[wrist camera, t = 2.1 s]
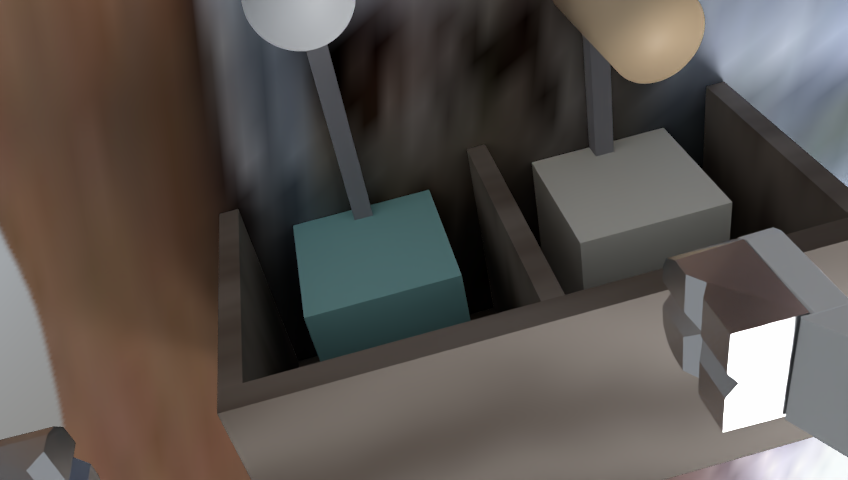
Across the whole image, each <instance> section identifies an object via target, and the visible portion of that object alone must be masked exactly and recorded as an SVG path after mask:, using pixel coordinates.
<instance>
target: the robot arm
mask: <svg viewBox="0 0 848 480" xmlns="http://www.w3.org/2000/svg"><path fill="white" fill-rule="evenodd" d="M663 282H664V284H665V285H666V287H667V288H668V290H669V291H670V293H671V294H670V295H669V297H668V298H667V300H666V301H665V302H664V304H663V305H662V311H663V326H664V330H665V334H666V338H667V342H668V344H669V346H670V349H671V351H672V353H673V355H674V357H675V359H676V360H677V362H678V364H679V365H680V367H681V369H682V370H683V371H685V372H687V373H689V374H691V375H693V376H695V377H698V378H699V387H698V395H699V397H700V398H701V400H702V401H703V403H704V404H705V406H706V407H707V409H708V411H709V412H710V414H711V415H712V417H713V418H714V420H715V421H716V423H717V424H718V426H719V427H720V429H721V430H722V432H726V431H730V430H734V429H737V428H741V427H745V426H749V425H753V424H757V423H761V422H764V421H768V420H772V419H776V418H780V417H784V416H785V420H787V421H788V422H790V423H792V424H793V425H795V426H797V427H798V428H800V429H802V430H803V431H805V432H807V433H808V434H810V435H812V436H813V437H815V438H817V439H818V440H820V441H822V442H823V443H825V444H827V445H828V446H830V447H832V448H833V449H835V450H837V451H838V452H840V453H842V454H843V455H845V456H847V457H848V297H847V296H846V295H845V294H844V293H843V292H842V291H841V290H840V289H839V288H838V287H837V286H836V285H835V284H834V283H833V282H832V281H831V280H830V279H829V278H828V277H827V276H826V275H825V274H824V273H823V272H822V271H821V270H820V269H819V268H818V267H817V266H816V265H815V264H814V263H813V262H812V261H811V260H810V259H809V258H808V257H807V256H806V255H805V254H804V253H803V252H802V251H801V250H800V249H799V248H798V247H797V246H796V245H795V244H794V243H793V242H792V241H791V240H790V239H789V238H788V237H787V236H786V235H785V234H784V233H783V232H782V231H781V230H779V229H776V228H774V227H773V228H769V229H766V230H762V231H759V232H755V233H752V234H748V235H745V236H742V237H738V238H737V239H732V240H729V241H725V242H721V243H718V244H714V245H711V246H707V247H704V248H700V249H697V250H693V251H690V252H686V253H683V254H679V255H676V256H672V257H669V258H666V260H665V263H664V265H663ZM75 444H76V443H75V441H74V440H73V439H72V438H71V436H70V435H69V434H68V432H67V431H66V430H65V429H64V427H50V428H46V429H42V430H38V431H34V432H30V433H26V434H22V435H18V436H14V437H10V438H6V439H2V440H0V480H100V478H99V475H98V474H97V473H96V471H95V470H94V468H93V467H92V465H91V464H89V463H87V462H84V461H82V460H79V459H76V458H74V457H73V455H74V449H75Z"/></svg>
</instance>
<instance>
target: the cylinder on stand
mask: <svg viewBox="0 0 848 480" xmlns="http://www.w3.org/2000/svg"><path fill="white" fill-rule="evenodd" d="M553 2H554V4H555V5H556V7H557V8H558V9H559V10H560V11H561V12H562V13H563V14H564V15H565V16H566V17H567V18H568V19H569V21H570V22H571V23H572V24H573V25H574V26H575V27H576V28H577V29H578V30H579V31H580V32H581V33H582V34H583V51H584V68H585V85H586V102H587V120H588V137H589V147H588V148H585V149H581V150H577V151H573V152H569V153H566V154H562V155H558V156H554V157H550V158H547V159H543V160H539V161H535V162H532V170H533V179H534V188H535V197H536V206H537V215H538V224H539V233H540V242H541V250H542V252H543V254H544V256H545V258H546V260H547V262H548V264H549V265H550V267H551V269H552V271H553V273H554V275H555V277H556V279H557V281H558V282H559V284H560V286H561V288H562V290H563V292H564V294H565V295H566V294H570V293H574V292H577V291H581V290H585V289H588V288H592V287H596V286H599V285H603V284H607V283H610V282H614V281H617V280H621V279H625V278H628V277H632V276H636V275H639V274H643V273H647V272H650V271H654V270H658V269H661V268H663V265H664V263H665V260H666V258H669V257H672V256H676V255H679V254H683V253H686V252H690V251H693V250H697V249H700V248H704V247H707V246H711V245H714V244H718V243H721V242H725V241H729V240H730V228H731V214H732V201H731V200H730V199H729V198H728V197H727V196H726V195H725V194H724V193H723V191H722V190H721V189H720V188H719V187H718V186H717V185H716V184H715V183H714V182H713V181H712V180H711V178H710V177H709V176H708V175H707V174H706V173H705V172H704V171H703V170H702V169H701V168H700V167H699V166H698V164H697V163H696V162H695V161H694V160H693V159H692V158H691V157H690V156H689V155H688V154H687V153H686V151H685V150H684V149H683V148H682V147H681V146H680V145H679V144H678V143H677V142H676V141H675V140H674V138H673V137H672V136H671V135H670V134H669V133H668V132H667V131H666V130H665V129H664V128H660V129H657V130H653V131H649V132H645V133H641V134H638V135H634V136H630V137H626V138H622V139H619V140H615V141H613V117H612V90H611V65H612V66H613V68H614V69H615V70H616V71H617V72H618V73H619V74H620V75H621V76H623V77H624V78H625V79H627V80H629V81H632V82H635V83H642V84H648V83H655V82H659V81H662V80H665V79H667V78H669V77H671V76H673V75H674V74H676V73H677V72H679V71H680V70H681V69H682V68H683V67H685V66H686V65H687V63H688V62H689V61H690V60H691V59H692V57H693V56H694V55H695V53H696V52H697V50H698V48H699V46H700V44H701V41H702V38H703V34H704V29H705V17H704V12H703V9H702V7H701V5H700V3H699V1H698V0H553Z"/></svg>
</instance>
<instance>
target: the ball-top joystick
mask: <svg viewBox="0 0 848 480" xmlns="http://www.w3.org/2000/svg"><path fill="white" fill-rule="evenodd" d="M355 1H356V0H241V2H242V7H243V11H244V13H245V16H246V18H247V20H248V22H249V24H250V25H251V26H252V28H253V29H254V30H255V32H256V33H257V34H258V35H259V36H261V37H262V38H263V39H264V40H266V41H267V42H269V43H270V44H272V45H274V46H277V47H279V48H282V49H285V50H291V51H306V53H307V57H308V60H309V64H310V67H311V71H312V74H313V77H314V81H315V84H316V88H317V91H318V95H319V98H320V102H321V105H322V109H323V112H324V116H325V119H326V123H327V126H328V130H329V133H330V136H331V140H332V143H333V147H334V150H335V154H336V157H337V161H338V164H339V168H340V171H341V175H342V178H343V182H344V185H345V189H346V192H347V196H348V199H349V202H350V206H351V209H352V210H350V211H346V212H342V213H338V214H335V215H331V216H327V217H323V218H320V219H316V220H312V221H308V222H304V223H301V224H297V225H293V230H294V238H295V246H296V255H297V263H298V272H299V280H300V288H301V297H302V305H303V313H304V319H305V322H306V325H307V327H308V330H309V333H310V335H311V338H312V341H313V343H314V346H315V349H316V351H317V354H318V357H319V360H320V362H321V361H325V360H329V359H332V358H336V357H340V356H343V355H347V354H351V353H354V352H358V351H362V350H365V349H369V348H373V347H376V346H380V345H384V344H387V343H391V342H394V341H398V340H402V339H405V338H409V337H413V336H416V335H420V334H424V333H427V332H431V331H435V330H438V329H442V328H446V327H449V326H453V325H457V324H460V323H464V322H468V321H471V320H470V315H469V310H468V305H467V300H466V295H465V290H464V284H463V279H462V275H461V272H460V269H459V267H458V264H457V262H456V259H455V256H454V254H453V251H452V249H451V246H450V243H449V241H448V238H447V235H446V233H445V230H444V228H443V225H442V222H441V220H440V217H439V214H438V212H437V209H436V207H435V204H434V201H433V199H432V196H431V193H430V191H429V190H426V191H422V192H418V193H414V194H410V195H407V196H403V197H399V198H395V199H391V200H388V201H384V202H380V203H376V204H373V205H370V202H369V198H368V194H367V191H366V187H365V183H364V179H363V176H362V172H361V168H360V165H359V161H358V157H357V153H356V150H355V146H354V142H353V139H352V135H351V131H350V127H349V124H348V120H347V116H346V113H345V109H344V105H343V101H342V98H341V94H340V90H339V86H338V83H337V79H336V75H335V72H334V68H333V64H332V60H331V57H330V53H329V49H328V46H327V44H328V43H330V42H332V41H333V40H334V39H336V38H337V37H338V36H339V35H340V34H341V33H342V32H343V31H344V29H345V28H346V27H347V25H348V23H349V22H350V20H351V17H352V15H353V12H354V8H355Z"/></svg>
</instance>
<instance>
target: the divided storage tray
mask: <svg viewBox="0 0 848 480" xmlns="http://www.w3.org/2000/svg"><path fill="white" fill-rule="evenodd" d="M467 154H468V160H469V166H470V172H471V177H472V183H473V189H474V195H475V201H476V207H477V213H478V219H479V225H480V231H481V237H482V243H483V248H484V254H485V260H486V266H487V272H488V278H489V284H490V290H491V296H492V302H493V308H491V309H488V310H484V311H480V312H477V313H473V314H469V315H470V320H471V321H468V322H464V323H460V324H457V325H453V326H449V327H446V328H442V329H438V330H435V331H431V332H427V333H424V334H420V335H416V336H413V337H409V338H405V339H402V340H398V341H394V342H391V343H387V344H384V345H380V346H376V347H373V348H369V349H365V350H362V351H358V352H354V353H351V354H347V355H343V356H340V357H336V358H332V359H329V360H325V361H321V362H320V360H319V357H318V356H315V357H312V358H308V359H304V360H301V361H298V359H297V356H296V354H295V351H294V349H293V346H292V344H291V341H290V339H289V336H288V334H287V331H286V328H285V326H284V323H283V321H282V318H281V316H280V313H279V311H278V308H277V306H276V303H275V301H274V298H273V296H272V293H271V291H270V288H269V285H268V283H267V280H266V278H265V275H264V273H263V270H262V268H261V265H260V263H259V260H258V258H257V255H256V253H255V250H254V247H253V245H252V242H251V240H250V237H249V235H248V232H247V230H246V227H245V225H244V222H243V220H242V217H241V215H240V212H239V210H238V209H236V210H232V211H229V212H225V213H221V214H219V294H218V394H217V414H218V416H219V418H220V420H221V422H222V424H223V426H224V428H225V430H226V432H227V434H228V436H229V437H230V439H231V441H232V443H233V445H234V447H235V449H236V451H237V453H238V455H239V457H240V459H241V461H242V463H243V465H244V467H245V469H246V470H247V472H248V474H249V476H250V478H251V480H665V479H669V478H672V477H676V476H679V475H683V474H686V473H690V472H693V471H697V470H700V469H703V468H707V467H710V466H714V465H717V464H721V463H724V462H728V461H731V460H735V459H738V458H742V457H745V456H749V455H752V454H756V453H759V452H763V451H766V450H769V449H773V448H776V447H780V446H783V445H787V444H790V443H794V442H797V441H801V440H804V439H808V438H811V437H813V436H812V435H810V434H808V433H807V432H805V431H803V430H802V429H800V428H798V427H797V426H795V425H793V424H792V423H790V422H788V421H787V420H785V416H784V417H780V418H776V419H772V420H768V421H764V422H761V423H757V424H753V425H749V426H745V427H741V428H737V429H734V430H730V431H726V432H722V430H721V429H720V427H719V426H718V424H717V423H716V421H715V420H714V418H713V417H712V415H711V414H710V412H709V411H708V409H707V407H706V406H705V404H704V403H703V401H702V400H701V398H700V397H699V395H698V387H699V378H698V377H695V376H693V375H691V374H689V373H687V372H685V371H683V370H682V369H681V367H680V365H679V364H678V362H677V360H676V359H675V357H674V355H673V353H672V351H671V349H670V346H669V344H668V342H667V338H666V334H665V330H664V326H663V311H662V305H663V304H664V302H665V301H666V300H667V298H668V297H669V295H670V294H671V293H670V291H669V290H668V288H667V287H666V285H665V284H664V282H663V268H661V269H658V270H654V271H650V272H647V273H643V274H639V275H636V276H632V277H628V278H625V279H621V280H617V281H614V282H610V283H607V284H603V285H599V286H596V287H592V288H588V289H585V290H581V291H577V292H574V293H570V294H566V295H565V294H564V292H563V290H562V288H561V286H560V284H559V282H558V281H557V279H556V277H555V275H554V273H553V271H552V269H551V267H550V265H549V264H548V262H547V260H546V258H545V256H544V254H543V252H542V250H541V249H540V247H539V245H538V243H537V241H536V239H535V237H534V235H533V234H532V232H531V230H530V228H529V226H528V224H527V222H526V220H525V218H524V217H523V215H522V213H521V211H520V209H519V207H518V205H517V203H516V202H515V200H514V198H513V196H512V194H511V192H510V190H509V188H508V186H507V185H506V183H505V181H504V179H503V177H502V175H501V173H500V171H499V170H498V168H497V166H496V164H495V162H494V160H493V158H492V156H491V154H490V153H489V151H488V149H487V147H486V145H485V144H484V145H480V146H476V147H473V148H469V149H467ZM703 171H704V172H705V173H706V174H707V175H708V176H709V177H710V178H711V180H712V181H713V182H714V183H715V184H716V185H717V186H718V187H719V188H720V189H721V190H722V191H723V193H724V194H725V195H726V196H727V197H728V198H729V199H730V200H731V201H732V214H731V228H730V240H732V239H737V238H738V237H742V236H745V235H748V234H752V233H755V232H759V231H762V230H766V229H769V228H773V227H774V228H776V229H779V230H781V231H782V232H783V233H784V234H785V235H786V236H787V237H788V238H789V239H790V240H791V241H792V242H793V243H794V244H795V245H796V246H797V247H798V248H799V249H800V250H801V251H802V252H803V253H804V254H805V255H806V256H807V257H808V258H809V259H810V260H811V261H812V262H813V263H814V264H815V265H816V266H817V267H818V268H819V269H820V270H821V271H822V272H823V273H824V274H825V275H826V276H827V277H828V278H829V279H830V280H831V281H832V282H833V283H834V284H835V285H836V286H837V287H838V288H839V289H840V290H841V291H842V292H843V293H844V294H845V295H846V296H847V297H848V187H847V186H846V185H844V184H843V183H842V182H841V181H840V180H838V179H837V178H836V177H835V176H834V175H833V174H831V173H830V172H829V171H828V170H827V169H826V168H824V167H823V166H822V165H821V164H820V163H819V162H817V161H816V160H815V159H814V158H813V157H812V156H810V155H809V154H808V153H807V152H806V151H805V150H803V149H802V148H801V147H800V146H799V145H798V144H796V143H795V142H794V141H793V140H792V139H791V138H789V137H788V136H787V135H786V134H785V133H784V132H782V131H781V130H780V129H779V128H778V127H777V126H775V125H774V124H773V123H772V122H771V121H769V120H768V119H767V118H766V117H765V116H764V115H762V114H761V113H760V112H759V111H758V110H757V109H755V108H754V107H753V106H752V105H751V104H750V103H748V102H747V101H746V100H745V99H744V98H743V97H741V96H740V95H739V94H738V93H737V92H736V91H734V90H733V89H732V88H731V87H730V86H729V85H727V84H726V83H725V82H721V83H717V84H713V85H709V86H706V103H705V126H704V149H703Z"/></svg>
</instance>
